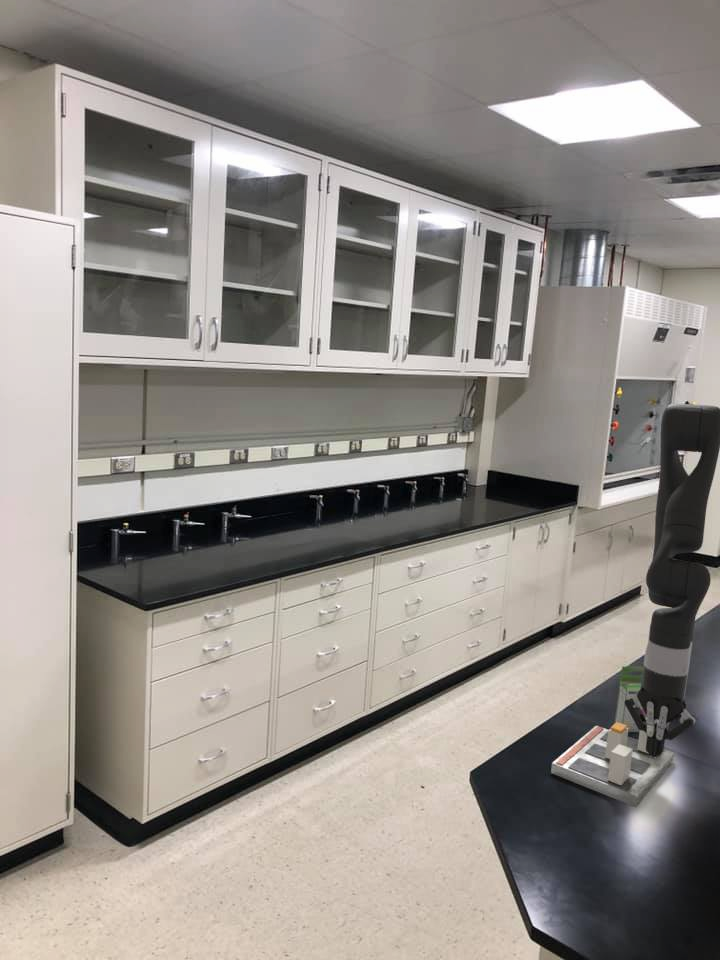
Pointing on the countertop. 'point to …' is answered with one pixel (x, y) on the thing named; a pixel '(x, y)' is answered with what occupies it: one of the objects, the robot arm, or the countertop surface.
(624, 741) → the block
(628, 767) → the breaker near
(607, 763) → the panel
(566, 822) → the countertop surface
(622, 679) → the ink box
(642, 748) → the block
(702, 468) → the robot arm
